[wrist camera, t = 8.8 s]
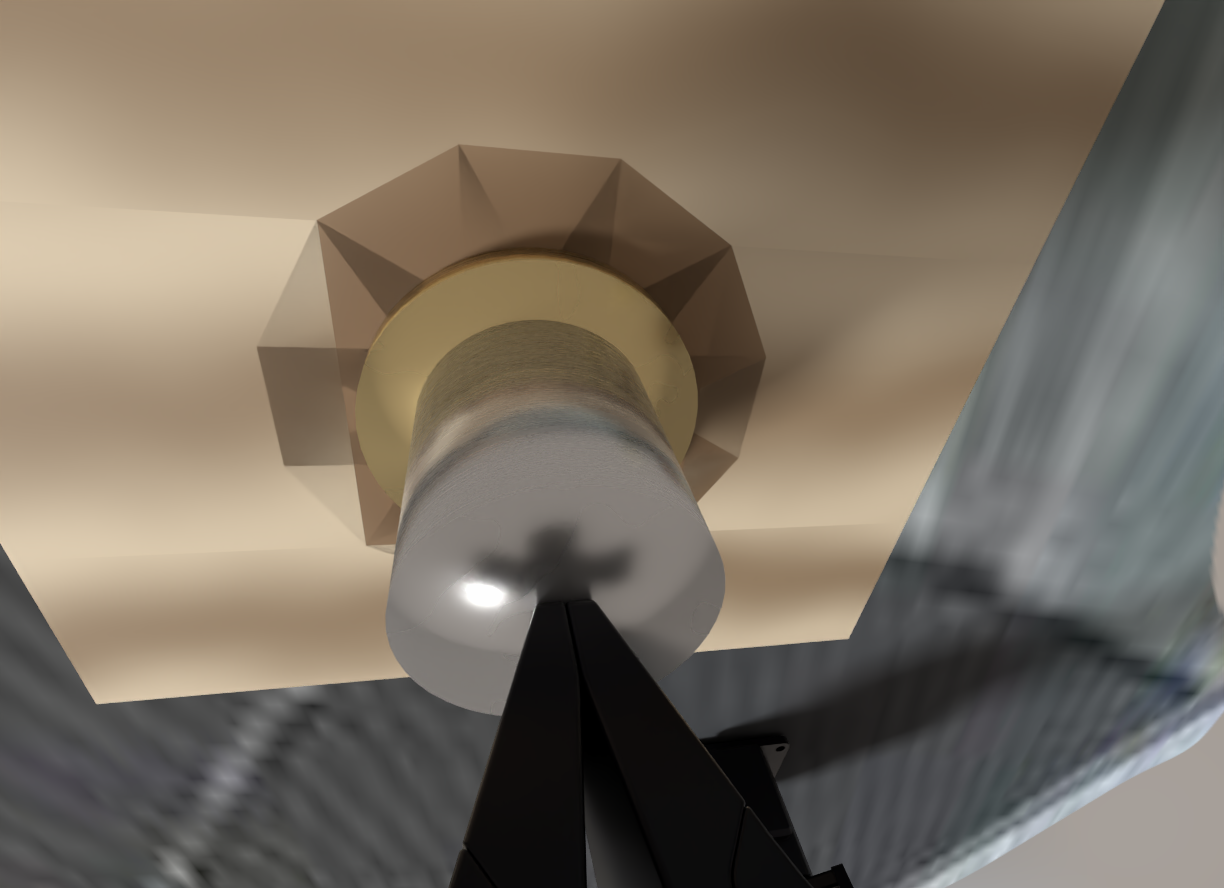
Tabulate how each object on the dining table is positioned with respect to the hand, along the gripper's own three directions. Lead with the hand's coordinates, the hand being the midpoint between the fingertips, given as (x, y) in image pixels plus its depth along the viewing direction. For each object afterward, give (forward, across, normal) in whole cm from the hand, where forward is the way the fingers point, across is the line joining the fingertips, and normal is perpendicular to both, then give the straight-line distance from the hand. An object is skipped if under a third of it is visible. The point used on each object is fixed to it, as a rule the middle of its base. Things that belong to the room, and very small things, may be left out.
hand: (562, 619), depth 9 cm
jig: (+10, 0, 0) cm, 10 cm away
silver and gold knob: (+9, 0, 0) cm, 9 cm away
